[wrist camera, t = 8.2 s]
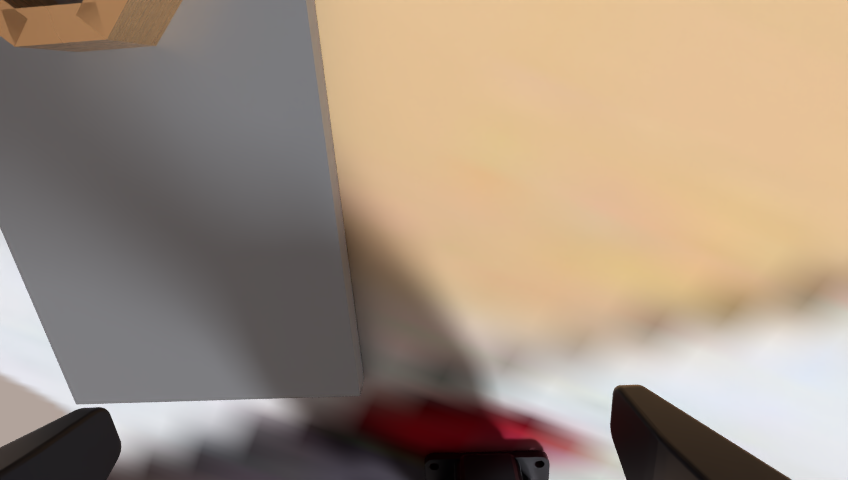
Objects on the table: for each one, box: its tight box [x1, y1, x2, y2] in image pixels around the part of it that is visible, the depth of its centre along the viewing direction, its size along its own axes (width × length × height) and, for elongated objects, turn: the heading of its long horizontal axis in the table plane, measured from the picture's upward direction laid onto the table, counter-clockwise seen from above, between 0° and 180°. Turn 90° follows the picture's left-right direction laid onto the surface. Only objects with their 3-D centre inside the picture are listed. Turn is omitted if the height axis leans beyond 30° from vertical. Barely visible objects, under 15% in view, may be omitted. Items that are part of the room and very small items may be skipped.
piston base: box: [0, 0, 364, 404], centre depth 15 cm, size 24×14×5 cm, turn 3°
